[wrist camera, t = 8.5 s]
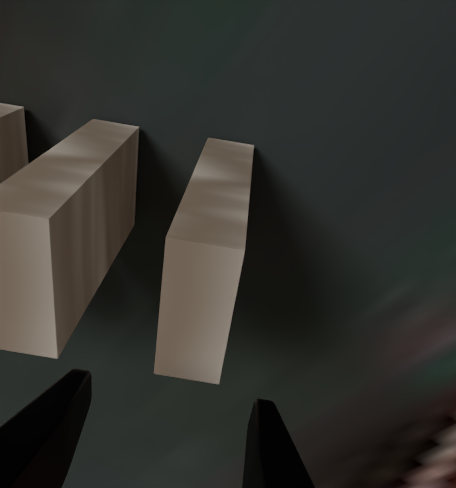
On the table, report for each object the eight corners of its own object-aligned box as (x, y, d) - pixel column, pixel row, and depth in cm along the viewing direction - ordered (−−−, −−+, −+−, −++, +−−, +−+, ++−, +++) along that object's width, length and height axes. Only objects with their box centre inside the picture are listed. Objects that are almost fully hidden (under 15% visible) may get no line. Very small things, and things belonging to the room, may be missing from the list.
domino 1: (254, 145, 19) (245, 250, 11) (236, 241, 21) (218, 384, 13) (206, 137, 19) (162, 236, 11) (194, 234, 21) (151, 373, 13)
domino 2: (139, 126, 19) (48, 219, 11) (134, 224, 21) (57, 358, 13) (91, 118, 19) (-35, 205, 11) (92, 217, 21) (-11, 347, 13)
